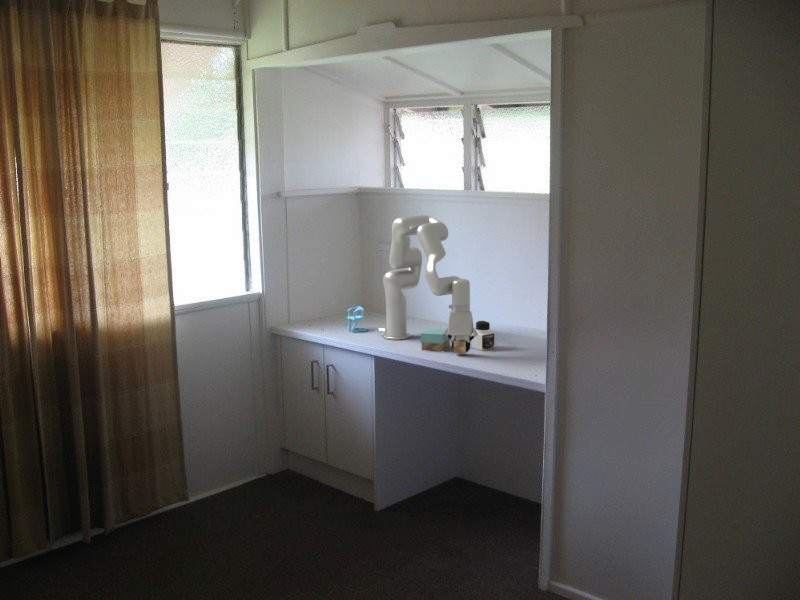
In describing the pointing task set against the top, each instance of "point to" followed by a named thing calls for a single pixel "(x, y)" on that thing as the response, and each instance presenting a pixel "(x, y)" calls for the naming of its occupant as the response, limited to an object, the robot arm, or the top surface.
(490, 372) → the top surface
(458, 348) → the oak block
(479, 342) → the medicine bottle
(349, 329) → the chair
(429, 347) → the walnut slab
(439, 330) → the teal slab
